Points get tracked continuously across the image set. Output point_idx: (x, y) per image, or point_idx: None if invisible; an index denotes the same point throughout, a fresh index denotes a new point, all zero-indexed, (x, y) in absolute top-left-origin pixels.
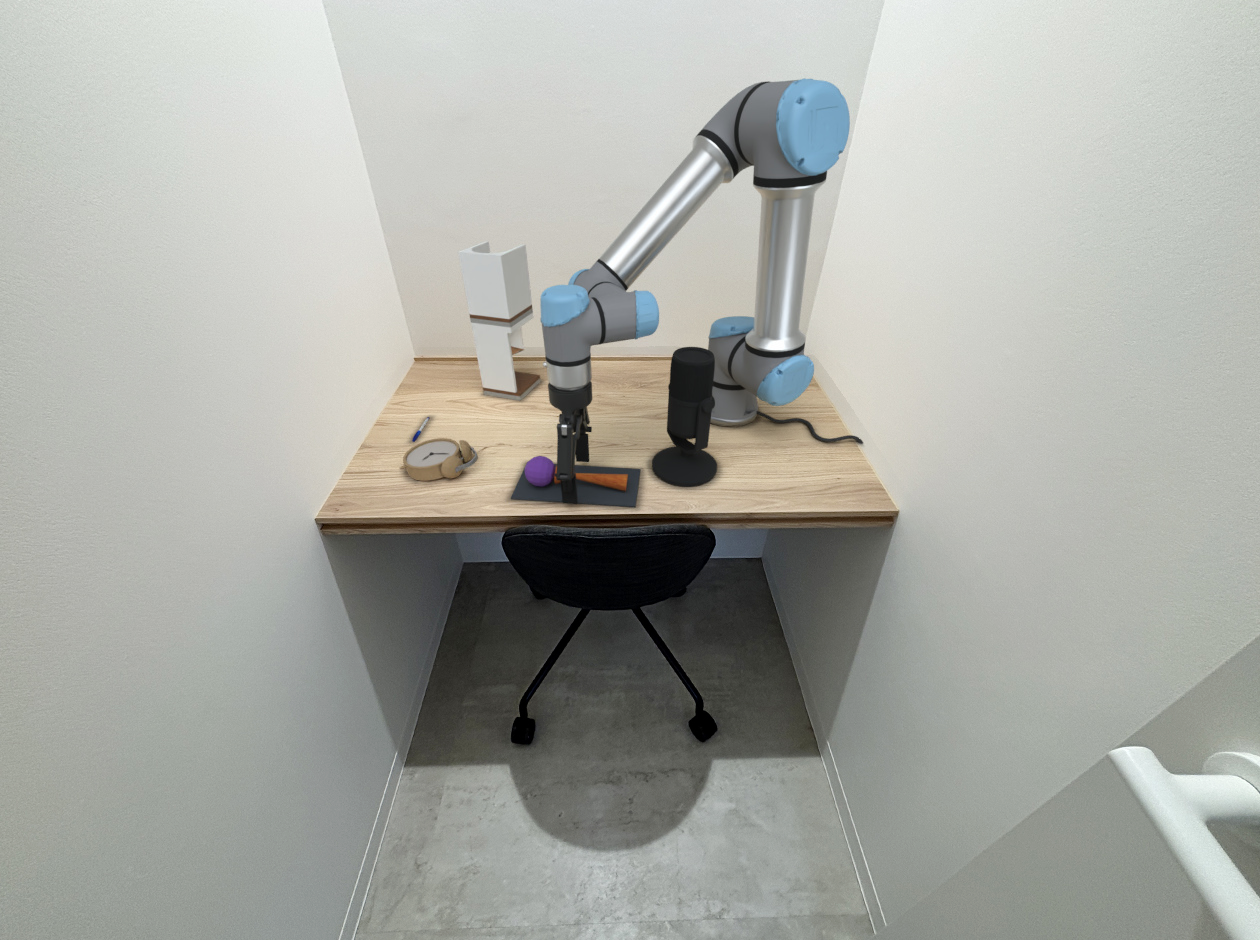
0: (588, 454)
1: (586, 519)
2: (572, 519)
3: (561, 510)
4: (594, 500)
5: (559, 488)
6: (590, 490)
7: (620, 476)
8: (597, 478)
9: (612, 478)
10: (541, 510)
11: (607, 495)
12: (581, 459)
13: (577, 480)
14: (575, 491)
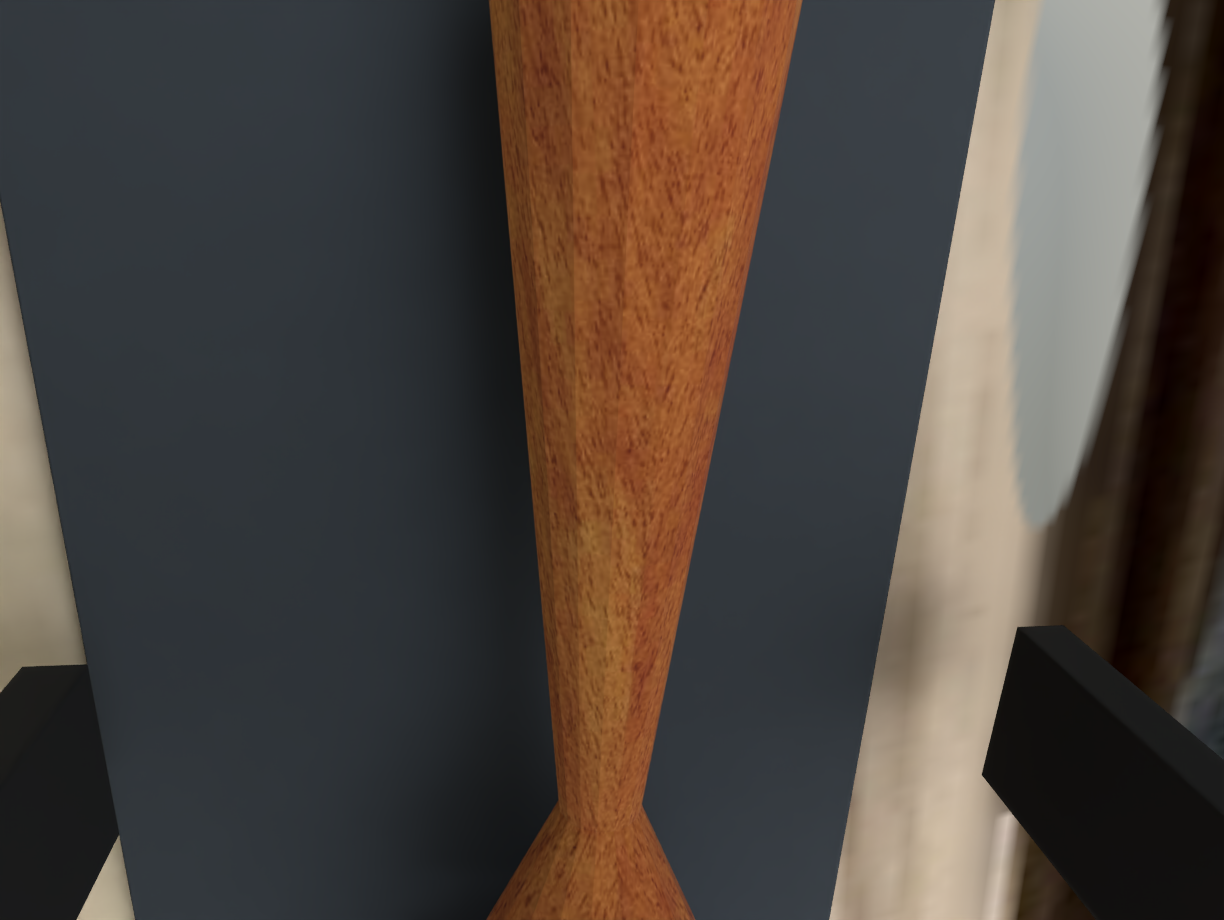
0: (10, 771)
1: (1138, 456)
2: (1113, 592)
3: (965, 720)
4: (867, 423)
5: None
6: None
7: (696, 44)
8: (697, 487)
9: (722, 218)
10: (947, 876)
11: (773, 264)
12: (86, 796)
13: (463, 692)
14: (1220, 765)
